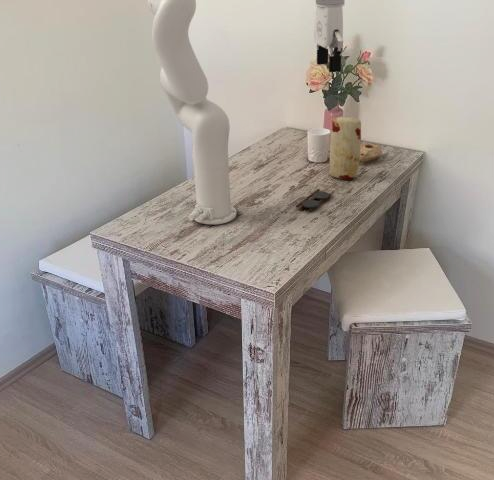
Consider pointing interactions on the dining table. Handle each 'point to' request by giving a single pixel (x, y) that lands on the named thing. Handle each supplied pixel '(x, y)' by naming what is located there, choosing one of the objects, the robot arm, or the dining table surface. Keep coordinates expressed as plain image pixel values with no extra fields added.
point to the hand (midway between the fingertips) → (328, 67)
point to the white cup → (318, 144)
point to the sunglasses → (313, 200)
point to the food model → (345, 147)
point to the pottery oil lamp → (369, 152)
